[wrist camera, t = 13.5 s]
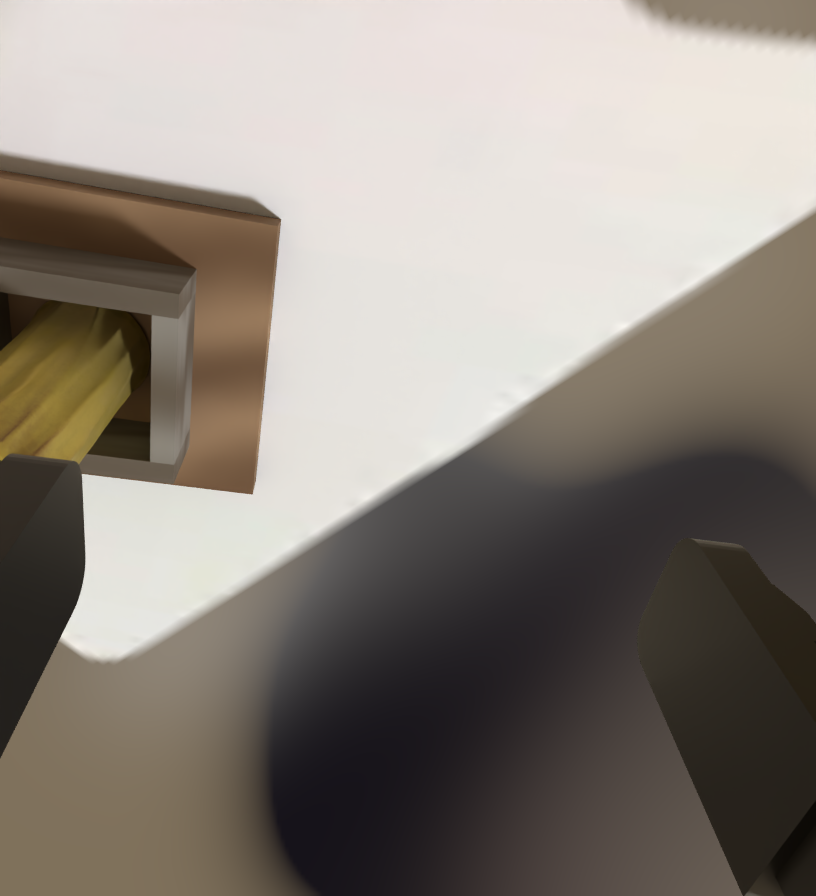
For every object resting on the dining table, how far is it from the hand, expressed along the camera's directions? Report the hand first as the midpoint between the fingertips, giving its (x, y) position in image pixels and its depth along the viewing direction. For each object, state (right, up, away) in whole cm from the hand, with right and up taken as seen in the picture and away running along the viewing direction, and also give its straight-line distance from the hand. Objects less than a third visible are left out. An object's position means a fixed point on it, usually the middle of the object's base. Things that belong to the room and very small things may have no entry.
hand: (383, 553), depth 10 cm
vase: (-16, +7, +28) cm, 33 cm away
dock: (-16, +7, +29) cm, 35 cm away
